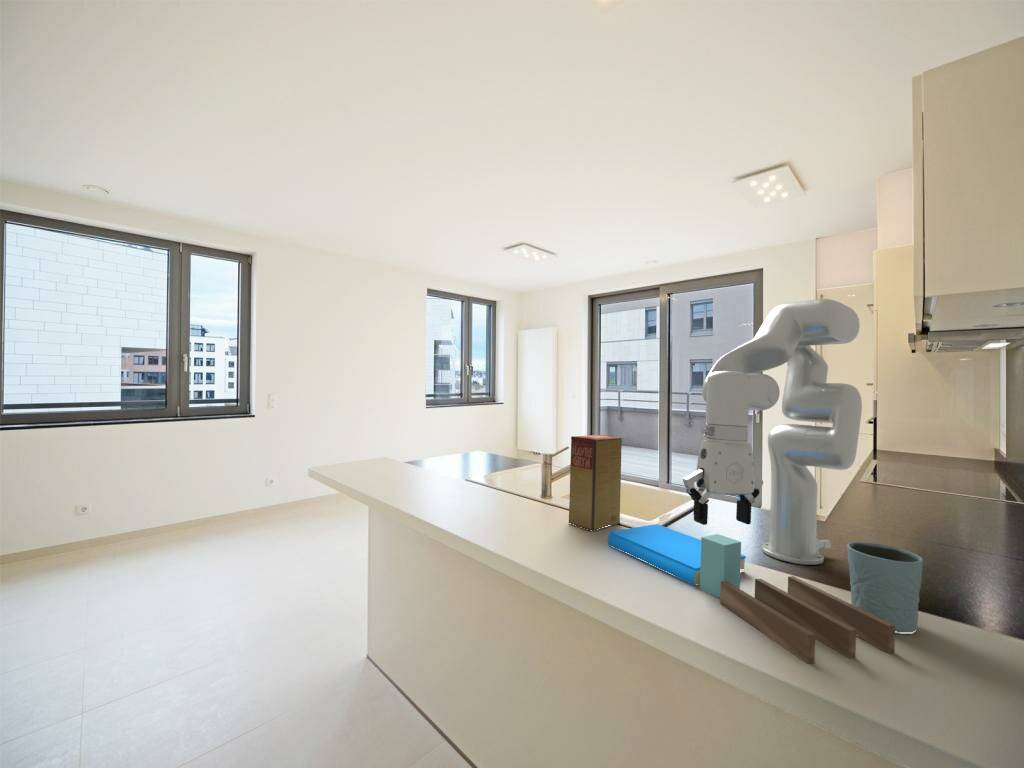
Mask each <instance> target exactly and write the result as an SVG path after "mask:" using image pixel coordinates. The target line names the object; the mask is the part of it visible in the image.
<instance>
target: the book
mask: <svg viewBox="0 0 1024 768" xmlns="http://www.w3.org/2000/svg"><path fill="white" fill-rule="evenodd" d="M607 545H608V546H609V545H611V546H613V547H615V548H617V549H620V550H622V551H624V552H627V553H629V554H631V555H633V556H635V557H637V558H640V559H642V560H644V561H646V562H648V563H650V564H652V565H654V566H656V567H658V568H660V569H662V570H664V571H667V572H669V573H671V574H673V575H675V576H677V577H679V578H681V579H683V580H685V581H687V582H689V583H690V585H691V584H692V586H695V585H696V584H700V567H701V539H699V538H696V537H694V536H691V535H688V534H685V533H683V532H680V531H677V530H674V529H671V528H669V527H666V526H663V525H660V524H658V523H656V524H650V525H642V526H636V527H630V528H625V529H619V530H612V531H611V530H610V531H609V533H608V537H607ZM611 546H610V547H611ZM613 547H612V548H613ZM615 548H614V549H615ZM617 549H616V550H617ZM746 558H747V556H746V555H744V554H741V566H740V569H744V570H745V561H746V560H745V559H746ZM660 569H659V570H660ZM662 570H661V571H662ZM664 571H663V572H664ZM677 577H676V578H677ZM679 578H678V579H679ZM681 579H680V580H681ZM683 580H682V581H683ZM685 581H684V582H685ZM687 582H686V583H687ZM689 583H688V584H689ZM696 586H697V585H696Z"/></svg>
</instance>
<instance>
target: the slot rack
mask: <svg viewBox="0 0 1024 768" xmlns="http://www.w3.org/2000/svg"><path fill="white" fill-rule="evenodd" d="M719 604H720V605H722V606H723V608H726V609H727V610H729V611H730V612H731V613H734V615H736V616H738V617H739V618H741V619H742V620H744V622H746V623H748V625H751V626H752V627H754V628H755V629H757V630H758V631H760V632H761V633H763V634H764V635H765V636H766V637H768V638H770V639H771V640H772V641H774V642H776V643H777V644H778V645H780V646H781V647H783V648H784V649H786V650H787V651H789V652H790V653H791V654H793V655H794V656H796V657H798V658H799V659H800V660H801V661H803V662H804V663H806V664H814V663H815V661H816V659H815V655H816V654H815V653H816V652H815V651H816V639H817V641H820V642H822V643H823V644H825V645H826V646H828V647H830V648H831V649H833V650H835V651H837V653H839V654H841V655H843V656H845V657H846V658H848V659H854V658H856V652H857V651H856V649H857V647H856V645H857V637H858V636H859V637H858V638H860V637H861V638H862V639H861V638H860V639H861V640H863V639H864V641H865V642H867V641H868V642H867V643H869V644H871V645H872V646H874V647H876V648H878V649H880V650H881V649H882V650H881V651H882V652H883V651H884V652H885V653H887V654H893V653H892V652H894V653H895V641H896V640H895V638H896V636H895V635H896V634H895V625H893V624H891V623H889V622H887V621H885V620H882V619H880V618H878V617H876V616H874V615H872V614H870V613H868V612H866V611H864V610H862V609H860V608H858V607H856V606H854V605H852V604H851V603H850V602H847V601H845V600H843V599H842V598H839V597H837V596H835V595H833V594H832V593H828V592H827V591H825V590H823V589H822V588H821V589H820V588H818V587H817V586H814V585H812V584H811V583H808V582H806V581H804V580H802V579H801V578H798V577H796V576H795V575H794V576H793V575H792V576H789V575H788V576H787V591H784V589H781V588H779V587H777V586H775V585H773V584H772V583H770V582H768V581H766V580H764V579H763V578H754V596H752V595H751V594H749V593H748V592H746V591H744V590H742V589H741V588H740V589H739V588H737V587H736V586H734V585H732V584H731V583H729V582H727V581H721V590H720V598H719ZM856 635H858V636H856Z"/></svg>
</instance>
